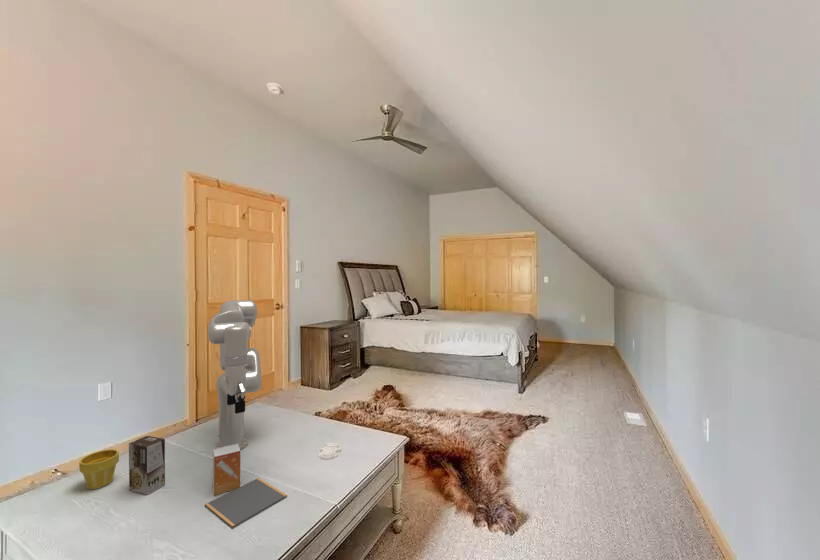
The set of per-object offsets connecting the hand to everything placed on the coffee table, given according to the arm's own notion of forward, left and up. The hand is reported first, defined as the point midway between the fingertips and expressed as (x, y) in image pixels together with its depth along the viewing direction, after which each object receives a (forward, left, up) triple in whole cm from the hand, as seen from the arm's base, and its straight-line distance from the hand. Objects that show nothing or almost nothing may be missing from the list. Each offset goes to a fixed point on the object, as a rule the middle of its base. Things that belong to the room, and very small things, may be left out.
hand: (236, 408), depth 124 cm
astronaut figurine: (+12, +33, -26) cm, 44 cm away
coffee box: (-20, -20, -26) cm, 39 cm away
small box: (+2, -4, -26) cm, 26 cm away
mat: (+15, -4, -26) cm, 30 cm away
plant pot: (-36, -29, -26) cm, 53 cm away
